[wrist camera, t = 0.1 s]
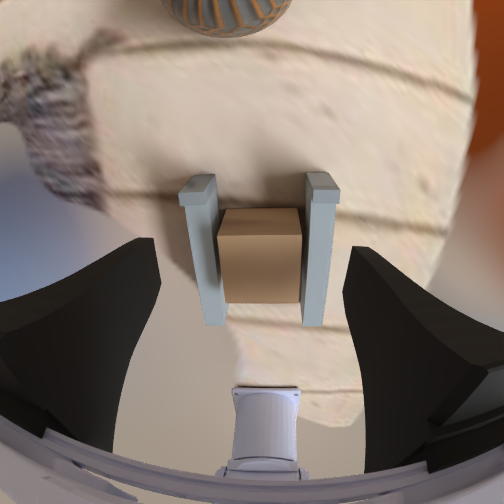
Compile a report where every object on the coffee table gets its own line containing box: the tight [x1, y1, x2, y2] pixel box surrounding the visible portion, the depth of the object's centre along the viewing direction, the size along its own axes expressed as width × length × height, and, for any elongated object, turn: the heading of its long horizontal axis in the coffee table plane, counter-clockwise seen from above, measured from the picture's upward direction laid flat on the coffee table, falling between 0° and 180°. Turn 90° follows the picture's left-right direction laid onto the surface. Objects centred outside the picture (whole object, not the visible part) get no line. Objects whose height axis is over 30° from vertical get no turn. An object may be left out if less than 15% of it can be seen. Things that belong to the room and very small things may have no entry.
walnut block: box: [217, 208, 302, 303], centre depth 19 cm, size 5×5×4 cm
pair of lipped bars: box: [178, 172, 340, 326], centre depth 20 cm, size 11×9×4 cm
